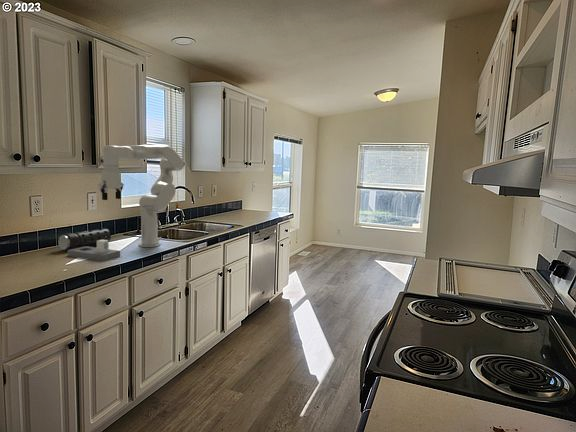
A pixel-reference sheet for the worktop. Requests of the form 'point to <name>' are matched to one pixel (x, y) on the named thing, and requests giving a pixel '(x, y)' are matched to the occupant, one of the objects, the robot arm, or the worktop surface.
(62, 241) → the black flashlight
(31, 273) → the worktop surface
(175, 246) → the worktop surface
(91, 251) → the socket block
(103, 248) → the plug
